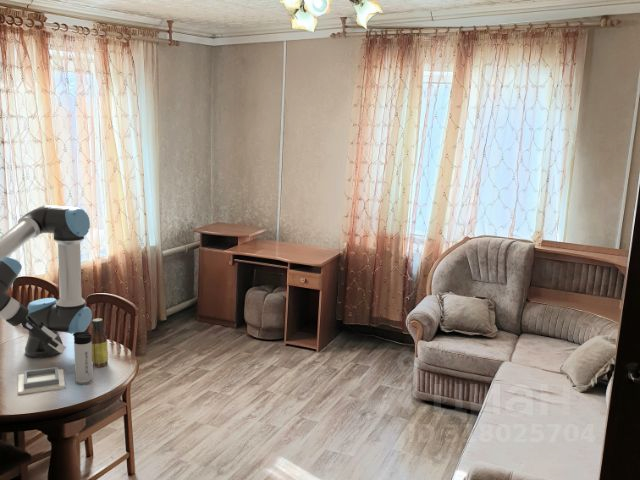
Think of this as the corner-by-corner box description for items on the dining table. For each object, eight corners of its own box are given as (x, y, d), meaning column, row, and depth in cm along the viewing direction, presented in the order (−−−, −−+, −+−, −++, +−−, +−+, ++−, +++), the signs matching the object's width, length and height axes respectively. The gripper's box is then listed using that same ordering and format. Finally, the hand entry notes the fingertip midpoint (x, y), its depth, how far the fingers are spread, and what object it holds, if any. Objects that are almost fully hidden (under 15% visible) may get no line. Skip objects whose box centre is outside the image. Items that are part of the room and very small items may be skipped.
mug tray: (18, 376, 235) (18, 369, 234) (62, 371, 242) (62, 364, 241) (18, 394, 221) (17, 387, 220) (65, 387, 228) (64, 380, 227)
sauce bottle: (111, 363, 251) (110, 318, 247) (101, 369, 246) (99, 323, 241) (98, 360, 253) (97, 316, 249) (88, 366, 248) (86, 320, 244)
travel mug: (77, 378, 236) (75, 330, 232) (94, 378, 237) (93, 330, 233) (72, 385, 230) (70, 336, 226) (90, 385, 231) (88, 336, 227)
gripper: (-2, 310, 221) (44, 341, 233) (11, 331, 202) (59, 363, 214) (13, 294, 223) (57, 326, 235) (27, 313, 204) (74, 347, 216)
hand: (59, 344), depth 225 cm, fingers open, 13 cm apart
